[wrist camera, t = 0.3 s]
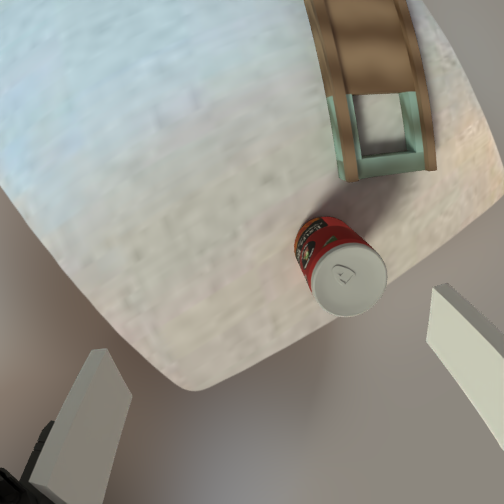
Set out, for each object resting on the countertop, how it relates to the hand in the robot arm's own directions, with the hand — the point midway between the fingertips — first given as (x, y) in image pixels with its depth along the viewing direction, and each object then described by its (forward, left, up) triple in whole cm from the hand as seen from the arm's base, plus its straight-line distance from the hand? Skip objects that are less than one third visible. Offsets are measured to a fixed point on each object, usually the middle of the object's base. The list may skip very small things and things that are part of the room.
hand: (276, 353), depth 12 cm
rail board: (-14, +17, -28) cm, 35 cm away
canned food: (+7, +8, -28) cm, 30 cm away
